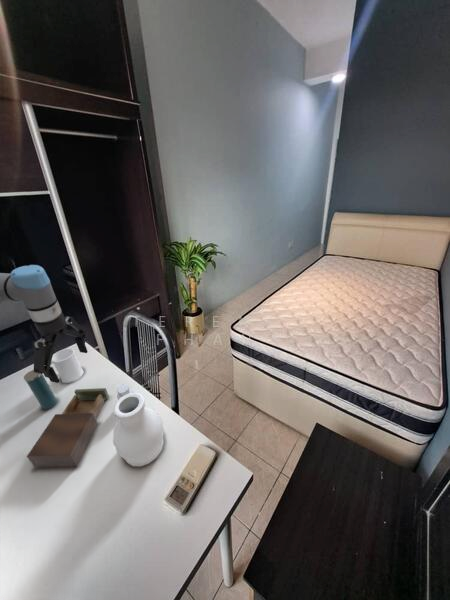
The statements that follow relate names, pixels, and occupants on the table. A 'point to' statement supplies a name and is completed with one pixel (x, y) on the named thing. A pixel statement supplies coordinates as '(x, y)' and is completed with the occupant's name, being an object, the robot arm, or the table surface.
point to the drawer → (87, 406)
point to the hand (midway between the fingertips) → (70, 365)
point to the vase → (137, 430)
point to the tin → (40, 389)
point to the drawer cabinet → (63, 441)
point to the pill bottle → (123, 390)
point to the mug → (67, 365)
